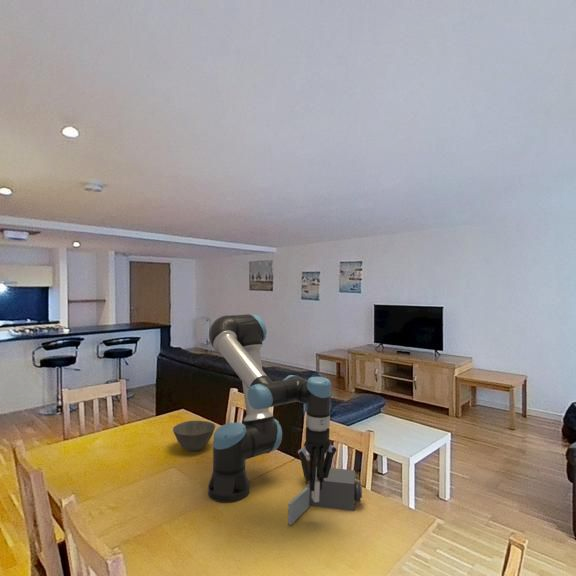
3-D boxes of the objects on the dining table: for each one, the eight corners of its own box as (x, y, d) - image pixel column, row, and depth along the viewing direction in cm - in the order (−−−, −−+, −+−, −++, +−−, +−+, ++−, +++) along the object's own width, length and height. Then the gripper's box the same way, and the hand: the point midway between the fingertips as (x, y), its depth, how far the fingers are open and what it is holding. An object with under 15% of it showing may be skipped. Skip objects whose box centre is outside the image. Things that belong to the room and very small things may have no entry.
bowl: (223, 446, 185) (223, 424, 185) (193, 461, 169) (193, 438, 169) (194, 437, 195) (194, 417, 195) (163, 451, 179) (164, 428, 179)
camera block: (306, 505, 136) (307, 476, 136) (310, 490, 146) (311, 463, 146) (361, 511, 133) (362, 481, 133) (361, 496, 143) (362, 468, 143)
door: (306, 504, 136) (306, 483, 136) (310, 506, 135) (310, 485, 135) (286, 524, 125) (286, 501, 125) (291, 525, 124) (291, 502, 124)
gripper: (302, 433, 121) (300, 509, 122) (341, 429, 125) (338, 503, 126) (294, 424, 128) (292, 496, 129) (331, 420, 132) (328, 490, 133)
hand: (315, 499), depth 127 cm, fingers closed
